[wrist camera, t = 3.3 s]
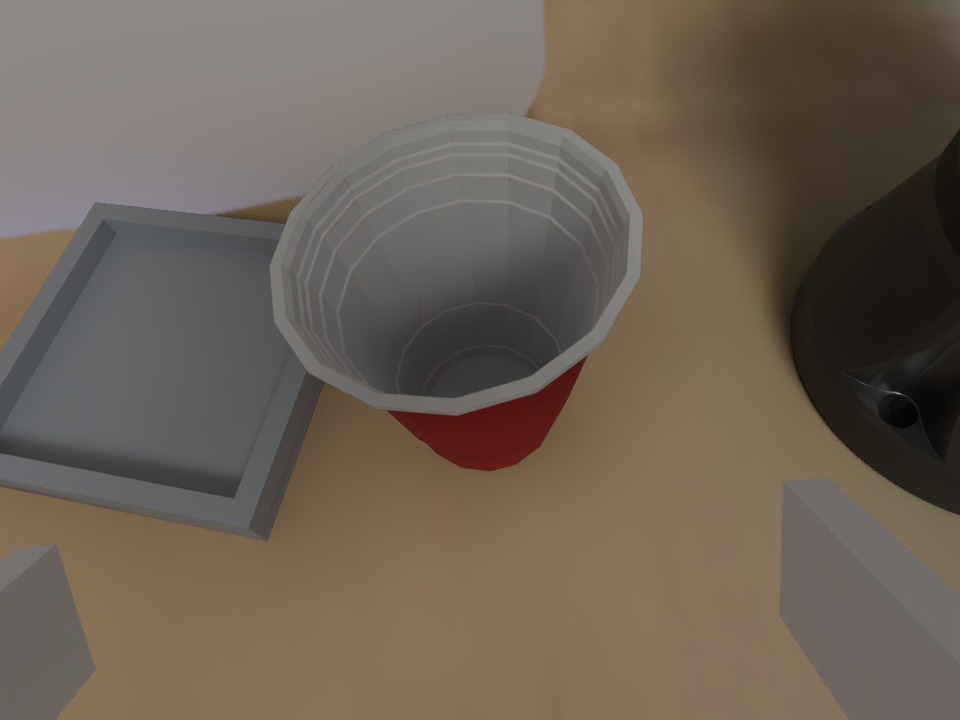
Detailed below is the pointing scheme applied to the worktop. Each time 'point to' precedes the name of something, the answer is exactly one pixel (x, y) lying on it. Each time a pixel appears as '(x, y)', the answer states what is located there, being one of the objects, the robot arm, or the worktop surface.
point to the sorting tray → (157, 374)
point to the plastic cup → (460, 277)
